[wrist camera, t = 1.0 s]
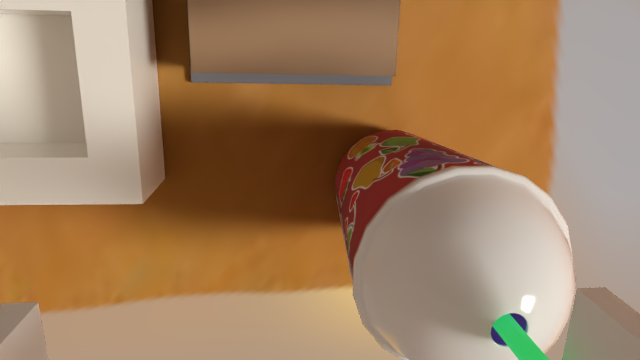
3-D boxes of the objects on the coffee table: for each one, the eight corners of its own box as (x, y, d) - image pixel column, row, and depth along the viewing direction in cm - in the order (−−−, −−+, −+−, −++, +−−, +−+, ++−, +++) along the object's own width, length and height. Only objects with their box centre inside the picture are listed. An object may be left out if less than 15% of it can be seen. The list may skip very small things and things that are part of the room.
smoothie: (343, 253, 32) (442, 567, 12) (303, 139, 29) (348, 310, 10) (459, 213, 32) (738, 466, 12) (428, 96, 29) (713, 184, 10)
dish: (-80, -36, 25) (-165, -57, 20) (150, -28, 26) (121, -46, 21) (-38, 179, 28) (-103, 205, 23) (165, 178, 29) (142, 203, 24)
